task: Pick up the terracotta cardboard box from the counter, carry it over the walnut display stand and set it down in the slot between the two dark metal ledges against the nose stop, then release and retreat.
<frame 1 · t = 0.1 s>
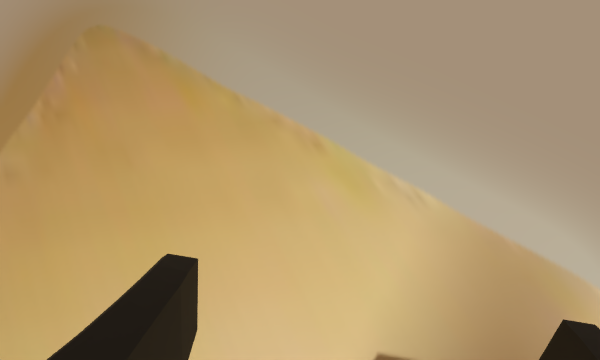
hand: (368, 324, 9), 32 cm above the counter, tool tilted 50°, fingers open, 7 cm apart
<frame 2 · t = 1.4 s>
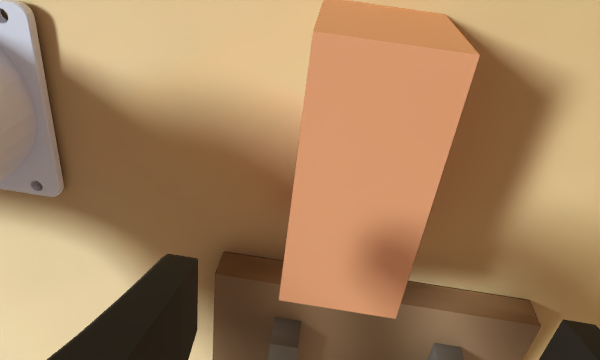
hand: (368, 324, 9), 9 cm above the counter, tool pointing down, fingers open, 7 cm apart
terracotta cardboard box: (359, 128, 18), on the counter
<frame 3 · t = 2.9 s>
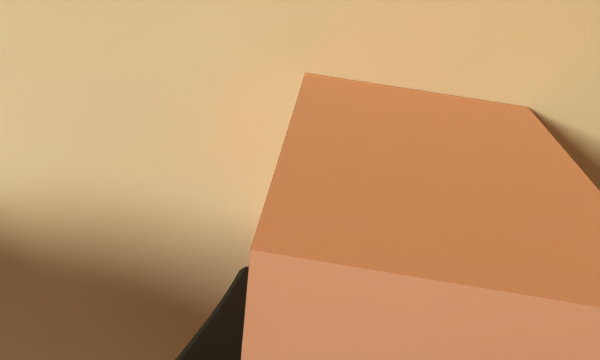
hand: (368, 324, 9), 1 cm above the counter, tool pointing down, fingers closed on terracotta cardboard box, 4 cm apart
terracotta cardboard box: (366, 276, 11), on the counter, touching gripper
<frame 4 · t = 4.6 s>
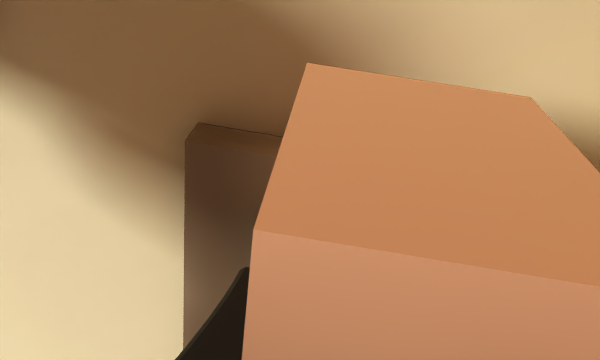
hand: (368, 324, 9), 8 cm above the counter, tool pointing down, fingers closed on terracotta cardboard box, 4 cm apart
terracotta cardboard box: (367, 269, 11), point 7 cm above the counter, touching gripper
display stand: (346, 309, 21), on the counter
when the fingers open (4 cm above the counter, at t = 6.4 s): terracotta cardboard box stays where it is, resting on display stand.
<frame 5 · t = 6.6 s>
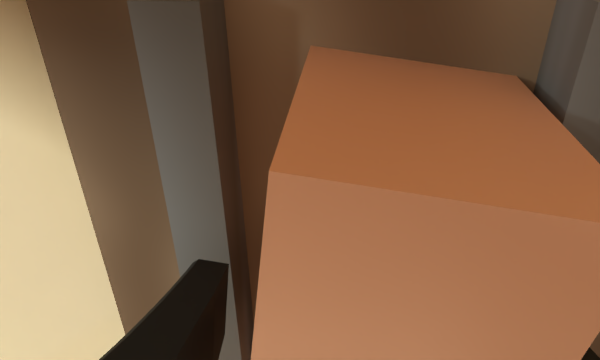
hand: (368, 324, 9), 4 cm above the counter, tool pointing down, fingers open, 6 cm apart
terracotta cardboard box: (367, 241, 11), point 1 cm above the counter, touching display stand
display stand: (365, 214, 13), on the counter
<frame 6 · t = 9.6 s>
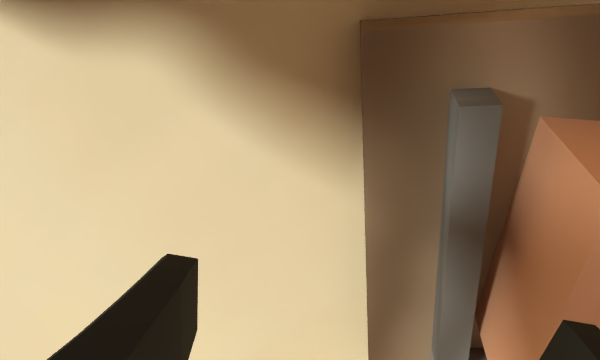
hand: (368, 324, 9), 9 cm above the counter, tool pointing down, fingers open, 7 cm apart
terracotta cardboard box: (558, 234, 17), point 1 cm above the counter, touching display stand
display stand: (542, 215, 18), on the counter
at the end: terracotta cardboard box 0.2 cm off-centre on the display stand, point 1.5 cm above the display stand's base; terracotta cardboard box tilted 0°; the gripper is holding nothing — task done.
